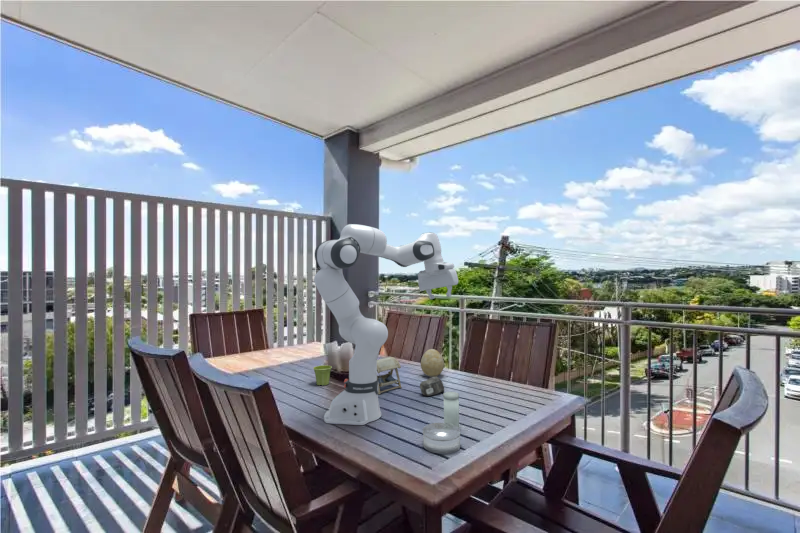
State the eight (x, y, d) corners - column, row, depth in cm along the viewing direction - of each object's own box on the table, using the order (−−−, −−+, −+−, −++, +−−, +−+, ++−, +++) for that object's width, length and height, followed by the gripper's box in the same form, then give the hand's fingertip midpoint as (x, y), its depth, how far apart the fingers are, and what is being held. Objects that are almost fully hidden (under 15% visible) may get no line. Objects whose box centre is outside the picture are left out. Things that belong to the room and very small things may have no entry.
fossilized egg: (432, 372, 213) (432, 345, 214) (449, 376, 204) (448, 349, 204) (416, 376, 205) (415, 348, 206) (432, 381, 196) (431, 352, 196)
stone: (436, 407, 169) (426, 388, 167) (424, 406, 174) (414, 387, 172) (452, 386, 179) (443, 368, 177) (440, 386, 184) (431, 368, 182)
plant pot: (311, 383, 195) (311, 366, 195) (329, 380, 199) (329, 364, 199) (315, 387, 186) (315, 370, 187) (334, 385, 190) (333, 368, 191)
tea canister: (445, 430, 134) (444, 396, 134) (442, 424, 139) (442, 391, 140) (460, 430, 134) (460, 396, 134) (457, 423, 139) (457, 391, 140)
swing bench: (379, 395, 174) (379, 363, 174) (366, 390, 181) (366, 360, 181) (402, 388, 184) (401, 358, 184) (389, 384, 191) (388, 355, 191)
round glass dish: (424, 455, 116) (424, 439, 116) (421, 437, 128) (421, 423, 129) (464, 454, 116) (464, 437, 117) (457, 436, 129) (456, 422, 129)
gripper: (413, 272, 174) (418, 301, 174) (449, 264, 161) (455, 296, 160) (421, 271, 179) (426, 299, 178) (456, 263, 166) (462, 294, 165)
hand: (440, 297), depth 169 cm, fingers open, 8 cm apart
